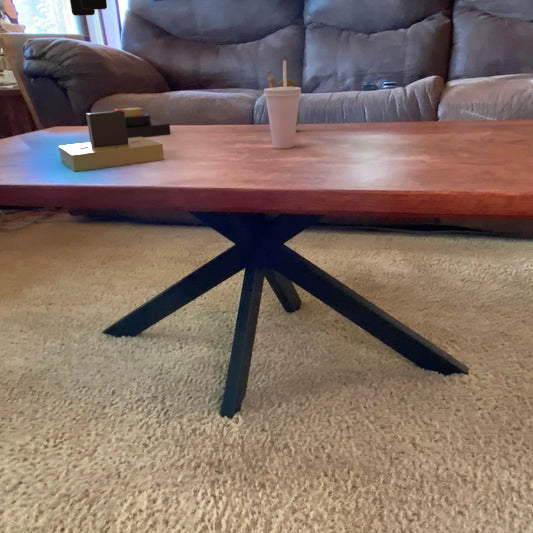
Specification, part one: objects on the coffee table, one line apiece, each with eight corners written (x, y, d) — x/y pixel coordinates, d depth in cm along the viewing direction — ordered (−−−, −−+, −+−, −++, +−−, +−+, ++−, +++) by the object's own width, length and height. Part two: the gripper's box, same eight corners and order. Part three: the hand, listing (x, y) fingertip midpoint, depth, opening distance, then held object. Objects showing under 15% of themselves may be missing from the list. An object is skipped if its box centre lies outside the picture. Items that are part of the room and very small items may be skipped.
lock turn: (94, 147, 80) (88, 112, 78) (91, 145, 81) (85, 111, 79) (128, 143, 82) (124, 109, 80) (124, 141, 84) (120, 108, 82)
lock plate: (74, 171, 75) (71, 153, 74) (61, 161, 83) (58, 144, 82) (164, 159, 82) (162, 142, 81) (143, 150, 90) (141, 135, 89)
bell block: (113, 141, 101) (110, 120, 100) (100, 135, 109) (97, 116, 108) (170, 134, 107) (168, 114, 105) (154, 129, 115) (152, 111, 113)
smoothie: (309, 146, 89) (309, 59, 83) (279, 151, 85) (277, 61, 80) (286, 142, 94) (285, 60, 88) (258, 146, 90) (254, 61, 85)
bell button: (126, 119, 104) (125, 110, 104) (120, 117, 107) (119, 108, 107) (145, 117, 106) (144, 108, 105) (139, 115, 109) (138, 107, 109)
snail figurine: (274, 129, 110) (272, 69, 105) (302, 129, 107) (302, 68, 103) (265, 132, 105) (263, 70, 100) (294, 133, 103) (294, 70, 98)
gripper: (29, -120, 71) (54, 17, 77) (39, -166, 56) (68, 6, 63) (85, -115, 74) (105, 16, 80) (107, -158, 59) (129, 6, 66)
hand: (89, 12), depth 72 cm, fingers open, 9 cm apart
